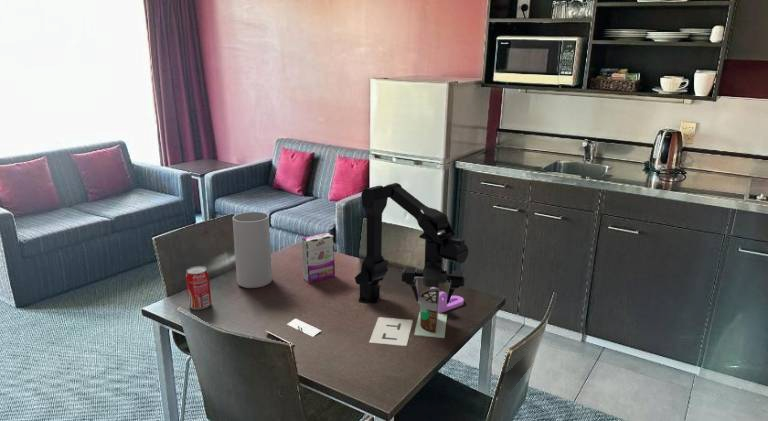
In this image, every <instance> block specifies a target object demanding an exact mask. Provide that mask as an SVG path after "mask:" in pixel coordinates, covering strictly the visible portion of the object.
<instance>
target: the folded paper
mask: <svg viewBox="0 0 768 421" xmlns="http://www.w3.org/2000/svg"><path fill="white" fill-rule="evenodd" d="M286 325H287V326H290V327H291V328H294V329H295V330H297V331H299V332H303V333H304V334H306V335H308V336H310V337H315V336H316V335H317V334H319V333H320V332H321V331H322V330H321V329H320V328H317V327H315V326H313V325H311V324H308V323H306V322H304V321H302V320H300V319H298V318H294V319H292V320H291V321H290V322H288V323H286ZM264 331H265V332H266V333H269V334H271V335H273V336H275V337H276V338H279V339H280V340H282V341H284V342H286V343H288V344H290V343H291V342H290V341H288V340H286V339H284V338H283V337H280V336H278V335H276V334H275V333H272V332H270V331H267V330H264ZM291 345H292V346H293V345H294V346H295V344H294V343H291Z"/></svg>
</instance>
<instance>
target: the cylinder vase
mask: <svg viewBox="0 0 768 421" xmlns="http://www.w3.org/2000/svg"><path fill="white" fill-rule="evenodd" d="M232 227H233V231H232V232H233V242H234V243H233V244H234V259H235V269H236V270H235V271H236V272H235V273H236V283H237V285H238V286H240V287H242V288H244V289H245V288H246V289H257V288H258V289H259V288H263V287H265V286H268V285H269V284H271V283H272V281H273V272H272V271H273V270H272V252H271V251H272V250H271V248H272V247H271V232H270V216H269V214H268V213H266V212H262V211H246V212H241V213H236V214H235V215H233V216H232Z"/></svg>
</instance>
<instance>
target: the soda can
mask: <svg viewBox="0 0 768 421" xmlns="http://www.w3.org/2000/svg"><path fill="white" fill-rule="evenodd" d="M185 282H186V292H187V301H188V306H189V308H190V309H191V310H195V311H200V310H204V309H207V308H209V307H210V306H211V304H212V296H211V286H210V276H209V271H208V269H207V267H205V266H204V265H203V266H202V265H198V266H191V267H189V268H188V269H186V274H185Z"/></svg>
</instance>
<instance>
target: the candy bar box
mask: <svg viewBox="0 0 768 421" xmlns="http://www.w3.org/2000/svg"><path fill="white" fill-rule="evenodd" d="M334 239H335V237H334V235H333V234H332V233H329V232H325V233H319V234H315V235H310V236H305V237H301V254H302V272H303V273H302V275H303V280H304V281H306V282H307V283H308V284H310V283H315V282H319V281H323V280H326V279H330V278H335V277H336V269H335V268H336V267H335V266H336V265H335V240H334Z"/></svg>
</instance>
